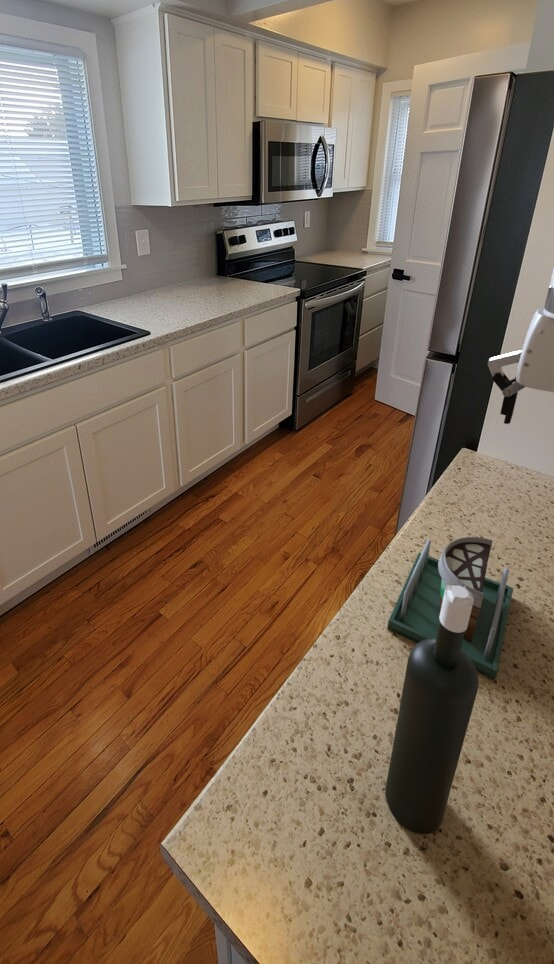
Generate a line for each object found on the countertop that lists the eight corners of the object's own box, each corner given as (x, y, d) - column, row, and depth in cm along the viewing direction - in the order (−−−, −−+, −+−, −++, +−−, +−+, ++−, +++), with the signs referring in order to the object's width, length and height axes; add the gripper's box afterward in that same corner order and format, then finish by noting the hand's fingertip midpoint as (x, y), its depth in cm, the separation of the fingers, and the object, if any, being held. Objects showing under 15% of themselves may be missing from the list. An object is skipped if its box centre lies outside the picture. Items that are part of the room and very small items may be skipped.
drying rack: (510, 596, 75) (520, 564, 72) (494, 680, 63) (504, 645, 60) (417, 560, 82) (422, 529, 79) (387, 629, 70) (391, 595, 67)
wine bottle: (403, 758, 55) (442, 554, 43) (453, 802, 51) (512, 593, 39) (374, 798, 51) (408, 590, 39) (425, 850, 48) (480, 636, 35)
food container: (438, 573, 78) (448, 524, 74) (480, 588, 75) (493, 537, 71) (422, 631, 69) (432, 578, 65) (469, 650, 66) (483, 596, 62)
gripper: (673, 305, 56) (627, 433, 63) (505, 289, 65) (482, 403, 72) (681, 322, 51) (630, 460, 58) (496, 302, 60) (472, 424, 67)
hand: (548, 428), depth 65 cm, fingers open, 9 cm apart
